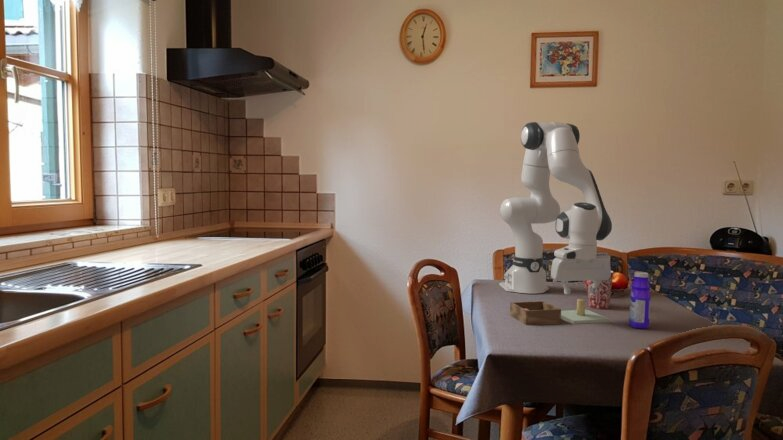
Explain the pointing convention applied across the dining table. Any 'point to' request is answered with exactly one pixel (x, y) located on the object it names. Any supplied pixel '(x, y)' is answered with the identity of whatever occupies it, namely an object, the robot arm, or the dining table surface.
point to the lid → (582, 315)
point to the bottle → (640, 301)
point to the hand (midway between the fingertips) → (580, 293)
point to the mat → (588, 323)
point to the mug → (600, 294)
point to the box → (535, 312)
